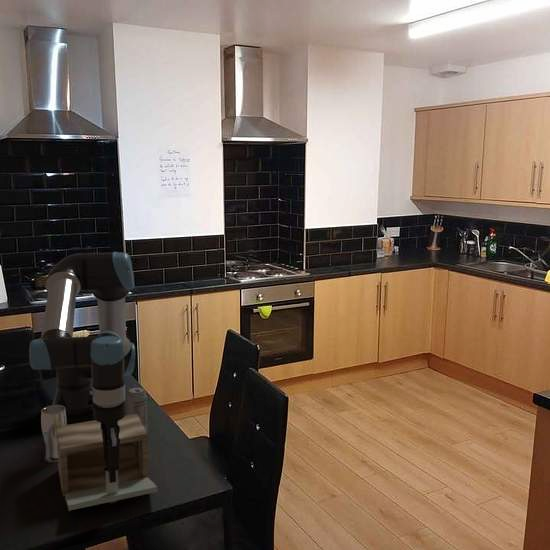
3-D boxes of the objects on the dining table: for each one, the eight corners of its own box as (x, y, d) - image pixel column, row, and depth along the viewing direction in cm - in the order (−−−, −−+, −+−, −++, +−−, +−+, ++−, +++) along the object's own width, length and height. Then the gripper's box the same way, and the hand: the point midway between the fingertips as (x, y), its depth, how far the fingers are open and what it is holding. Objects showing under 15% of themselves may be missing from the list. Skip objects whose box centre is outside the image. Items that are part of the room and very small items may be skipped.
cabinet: (58, 473, 161) (56, 426, 158) (138, 458, 170) (137, 413, 167) (62, 499, 148) (60, 448, 146) (148, 482, 157) (147, 433, 155)
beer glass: (44, 465, 165) (41, 416, 162) (42, 454, 171) (39, 407, 168) (70, 460, 168) (67, 411, 165) (66, 450, 174) (64, 403, 171)
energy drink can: (141, 428, 189) (140, 385, 187) (151, 435, 185) (149, 390, 182) (124, 433, 185) (123, 389, 183) (133, 440, 181) (132, 395, 178)
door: (64, 493, 147) (68, 505, 136) (147, 477, 155) (157, 486, 144) (65, 502, 147) (69, 515, 136) (148, 485, 155) (157, 495, 144)
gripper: (89, 394, 142) (93, 481, 147) (96, 414, 131) (100, 509, 135) (120, 389, 145) (123, 476, 150) (130, 409, 134) (132, 502, 138)
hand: (112, 491), depth 143 cm, fingers closed
